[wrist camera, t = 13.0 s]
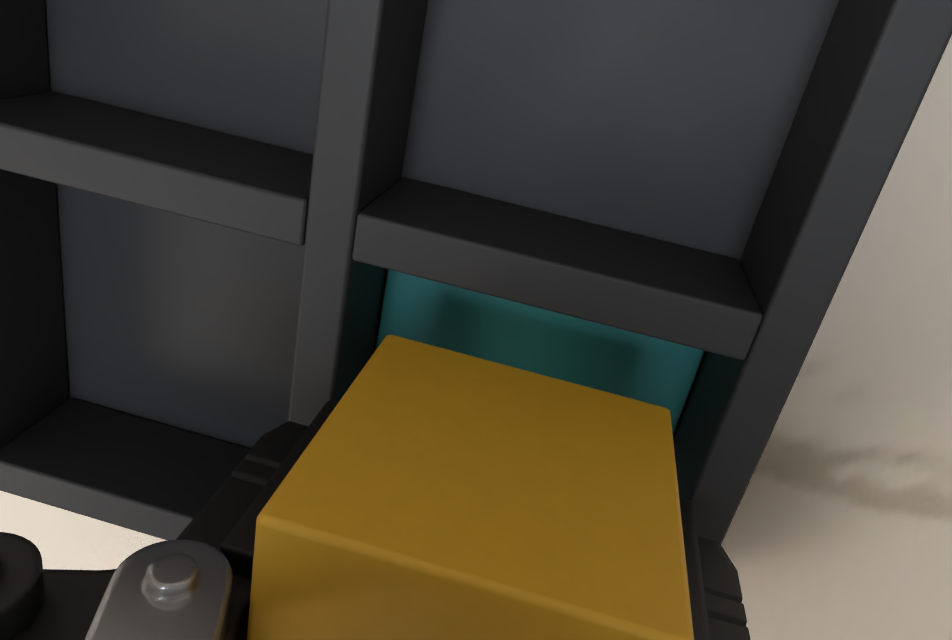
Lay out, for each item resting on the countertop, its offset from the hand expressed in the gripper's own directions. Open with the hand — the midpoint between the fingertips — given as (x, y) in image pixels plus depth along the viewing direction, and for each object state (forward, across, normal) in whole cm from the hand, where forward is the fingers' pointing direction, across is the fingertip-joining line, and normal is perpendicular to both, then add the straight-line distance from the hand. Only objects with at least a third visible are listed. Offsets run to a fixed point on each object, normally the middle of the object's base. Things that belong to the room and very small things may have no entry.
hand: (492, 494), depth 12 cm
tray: (+4, +4, -4) cm, 6 cm away
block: (0, 0, 0) cm, 0 cm away
